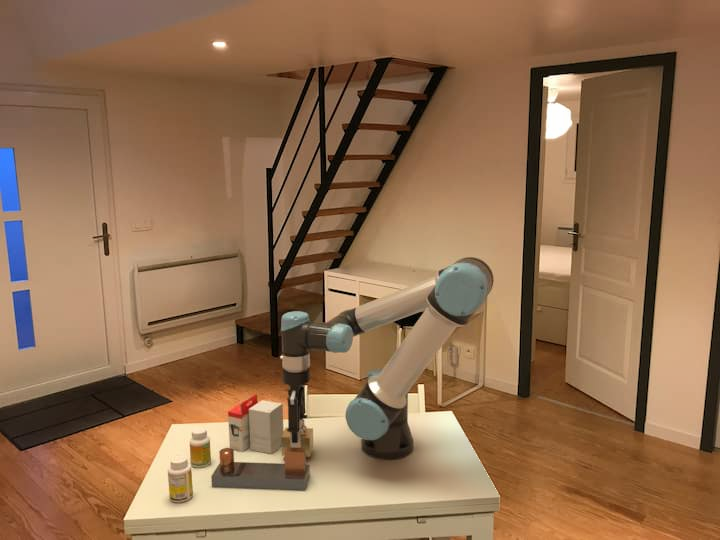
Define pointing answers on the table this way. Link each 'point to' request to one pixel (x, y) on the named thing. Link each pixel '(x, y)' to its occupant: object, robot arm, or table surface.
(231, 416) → the ink box
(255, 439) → the supplement box
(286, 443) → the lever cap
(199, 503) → the table surface
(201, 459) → the supplement bottle
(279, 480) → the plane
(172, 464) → the supplement bottle
